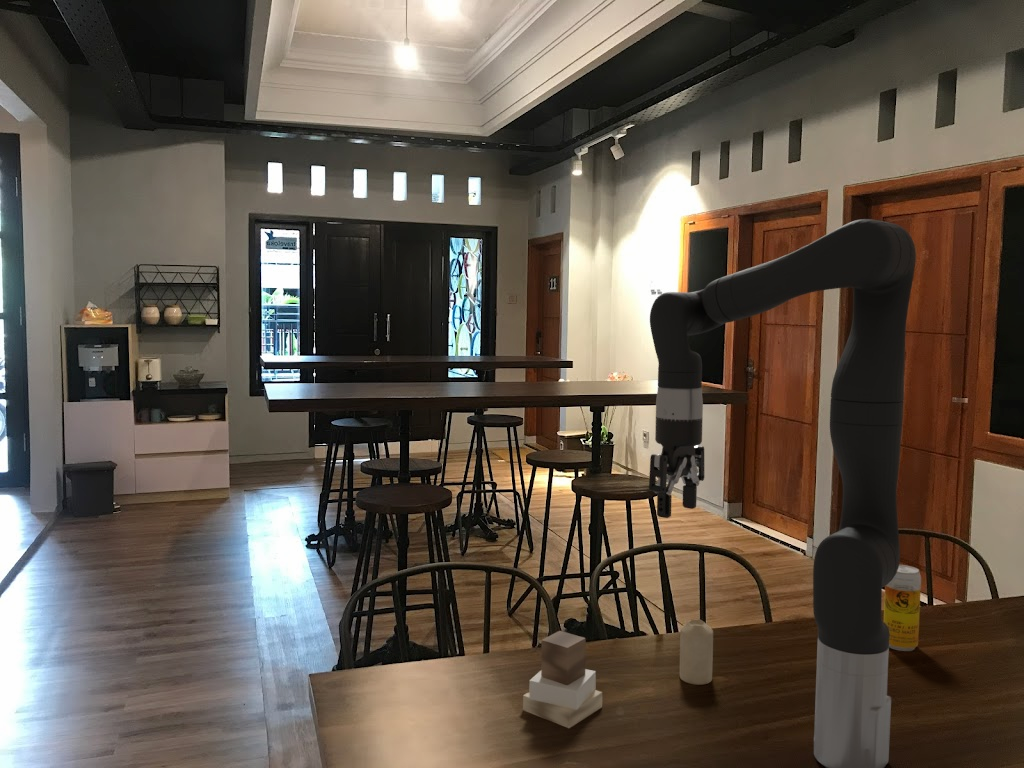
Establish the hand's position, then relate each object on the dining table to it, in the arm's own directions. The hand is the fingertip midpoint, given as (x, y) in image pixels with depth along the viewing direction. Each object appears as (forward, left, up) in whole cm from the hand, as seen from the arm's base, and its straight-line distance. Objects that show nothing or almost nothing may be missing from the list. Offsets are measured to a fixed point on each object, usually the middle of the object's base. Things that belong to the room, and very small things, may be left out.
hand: (677, 512), depth 137 cm
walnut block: (+10, +18, -25) cm, 32 cm away
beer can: (-24, -44, -30) cm, 59 cm away
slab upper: (+10, +18, -28) cm, 34 cm away
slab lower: (+10, +18, -31) cm, 37 cm away
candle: (-1, -6, -30) cm, 31 cm away
